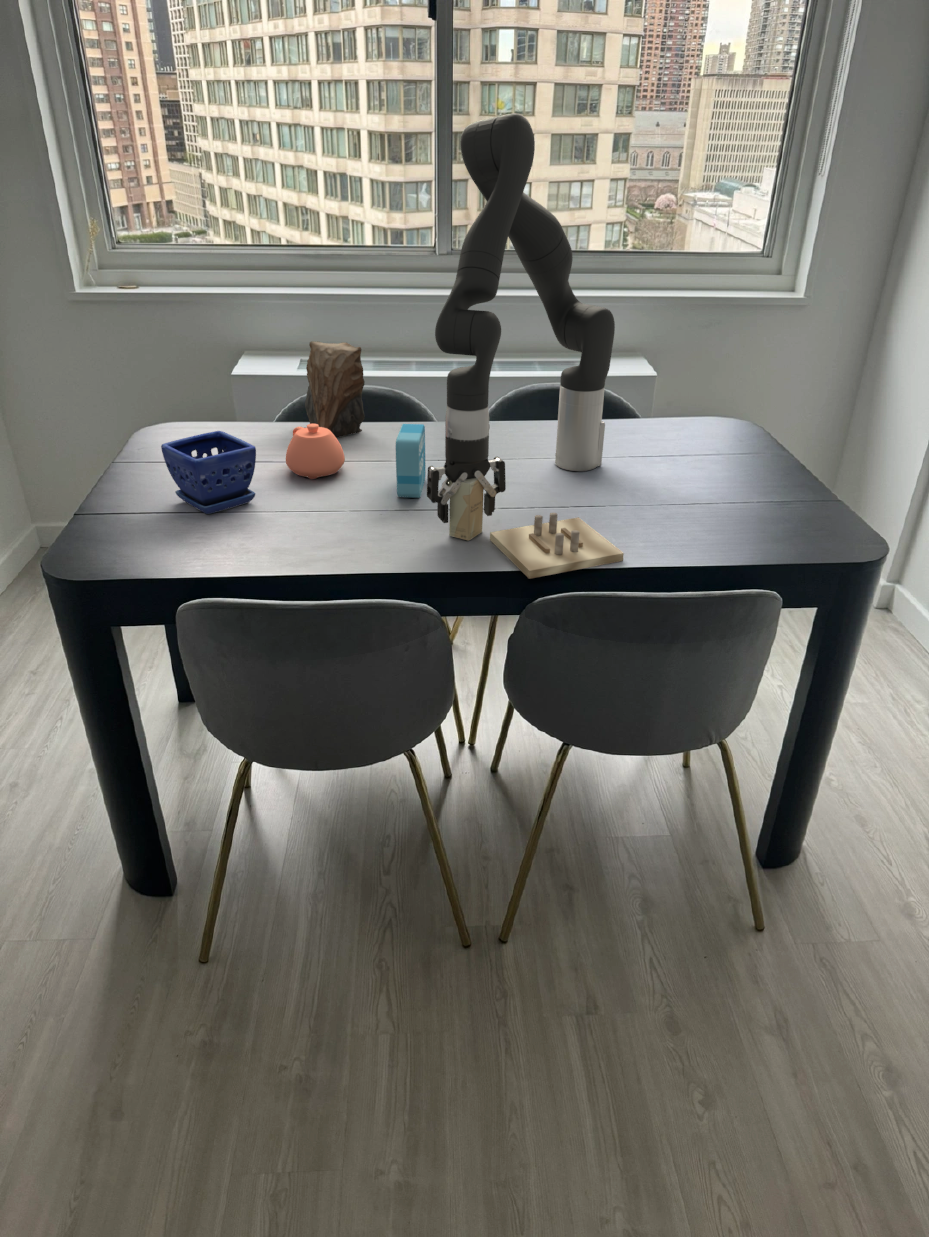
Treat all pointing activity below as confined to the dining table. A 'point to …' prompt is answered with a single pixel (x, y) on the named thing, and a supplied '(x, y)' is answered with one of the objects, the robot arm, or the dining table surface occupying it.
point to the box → (466, 510)
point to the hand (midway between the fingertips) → (466, 517)
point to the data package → (410, 460)
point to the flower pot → (211, 470)
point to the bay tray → (555, 546)
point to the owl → (335, 387)
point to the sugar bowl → (314, 452)
